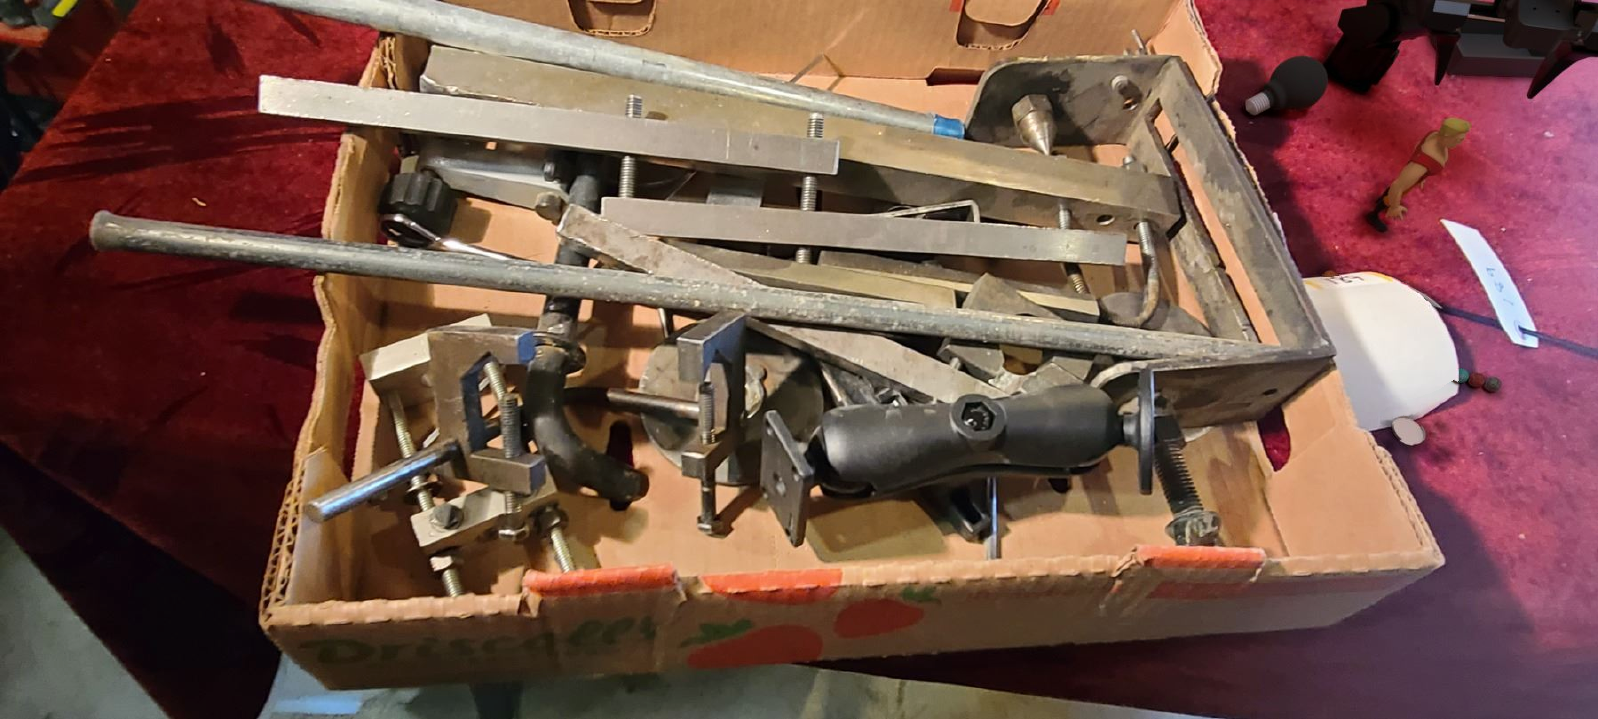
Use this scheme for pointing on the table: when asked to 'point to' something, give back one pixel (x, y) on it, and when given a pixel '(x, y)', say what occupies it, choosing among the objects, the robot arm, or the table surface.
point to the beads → (1479, 380)
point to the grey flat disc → (1408, 431)
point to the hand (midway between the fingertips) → (1481, 90)
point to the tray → (1490, 53)
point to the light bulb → (1291, 86)
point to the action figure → (1420, 168)
